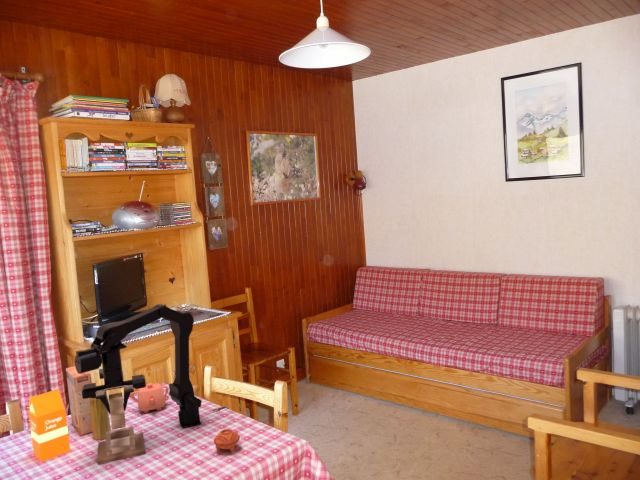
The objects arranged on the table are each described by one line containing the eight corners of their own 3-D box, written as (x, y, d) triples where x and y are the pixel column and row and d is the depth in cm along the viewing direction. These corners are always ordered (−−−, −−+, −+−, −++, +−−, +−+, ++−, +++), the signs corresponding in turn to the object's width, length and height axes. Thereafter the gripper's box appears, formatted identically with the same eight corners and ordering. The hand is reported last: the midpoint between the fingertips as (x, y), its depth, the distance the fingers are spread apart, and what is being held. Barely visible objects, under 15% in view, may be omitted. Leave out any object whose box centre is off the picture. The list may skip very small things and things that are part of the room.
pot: (216, 458, 165) (213, 435, 166) (214, 452, 173) (211, 430, 174) (242, 452, 168) (239, 429, 168) (240, 446, 175) (237, 425, 176)
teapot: (153, 417, 200) (150, 391, 199) (129, 413, 205) (126, 388, 204) (175, 404, 210) (172, 380, 209) (151, 401, 215) (149, 377, 214)
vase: (105, 440, 183) (100, 399, 182) (88, 439, 185) (83, 399, 183) (115, 432, 189) (110, 392, 188) (99, 431, 191) (94, 391, 189)
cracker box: (98, 431, 191) (91, 373, 189) (79, 436, 188) (72, 377, 186) (89, 418, 203) (82, 363, 200) (71, 423, 199) (64, 367, 197)
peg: (125, 422, 178) (122, 392, 177) (125, 426, 174) (122, 396, 173) (112, 424, 176) (108, 394, 175) (112, 429, 173) (108, 399, 172)
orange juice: (70, 451, 177) (63, 391, 175) (41, 462, 171) (33, 400, 169) (62, 444, 183) (54, 386, 181) (33, 454, 177) (25, 394, 175)
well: (143, 435, 185) (141, 421, 185) (145, 453, 172) (143, 438, 171) (98, 445, 180) (96, 430, 180) (97, 464, 167) (95, 449, 167)
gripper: (141, 352, 184) (146, 397, 186) (81, 362, 177) (86, 409, 179) (143, 362, 173) (148, 409, 175) (79, 373, 167) (85, 422, 169)
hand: (117, 412), depth 175 cm, fingers closed on peg, 4 cm apart
